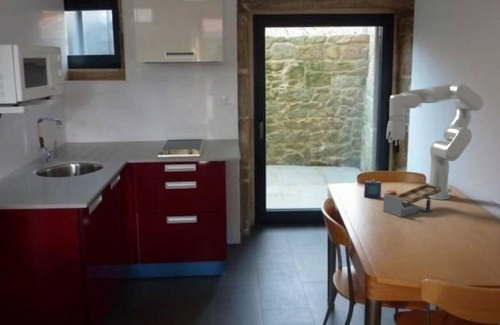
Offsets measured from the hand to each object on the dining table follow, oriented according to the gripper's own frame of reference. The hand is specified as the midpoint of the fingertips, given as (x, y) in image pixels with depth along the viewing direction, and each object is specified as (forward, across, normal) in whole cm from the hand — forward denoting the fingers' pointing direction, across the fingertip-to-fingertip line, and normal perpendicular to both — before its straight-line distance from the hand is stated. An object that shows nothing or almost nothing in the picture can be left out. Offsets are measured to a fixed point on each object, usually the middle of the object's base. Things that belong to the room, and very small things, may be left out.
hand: (395, 152), depth 279 cm
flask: (+27, +5, -11) cm, 30 cm away
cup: (+26, +14, +16) cm, 34 cm away
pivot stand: (+27, +1, +17) cm, 32 cm away
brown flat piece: (+21, 0, +13) cm, 24 cm away
